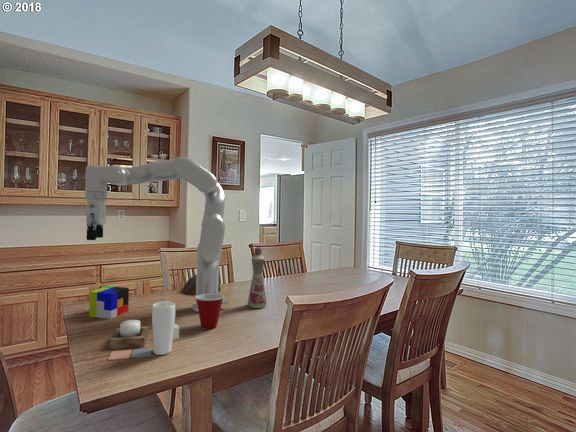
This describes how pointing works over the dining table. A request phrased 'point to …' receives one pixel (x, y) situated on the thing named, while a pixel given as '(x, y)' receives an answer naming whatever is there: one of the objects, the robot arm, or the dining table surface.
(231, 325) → the dining table surface
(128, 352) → the pad
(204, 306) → the plastic cup
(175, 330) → the white cube
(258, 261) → the bottle
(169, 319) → the drinking glass
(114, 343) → the button frame
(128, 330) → the dome button
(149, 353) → the pad mid
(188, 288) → the decorative dome
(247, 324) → the dining table surface
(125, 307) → the puzzle toy
